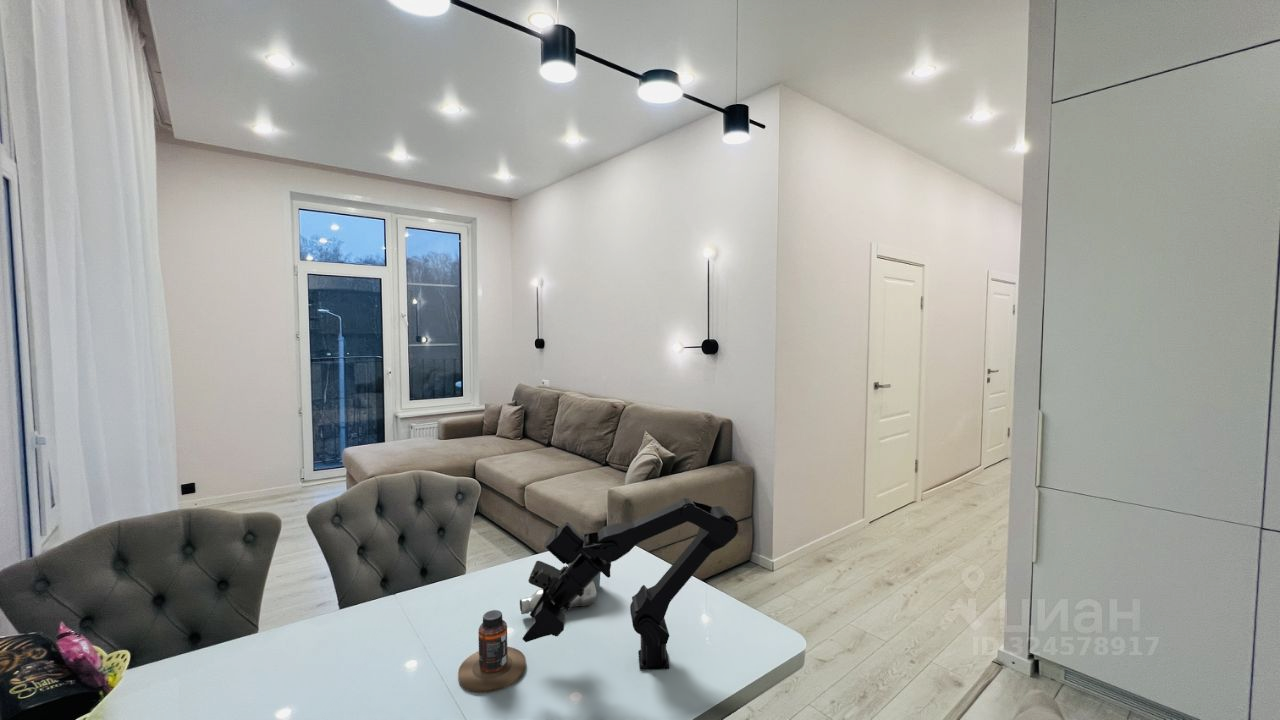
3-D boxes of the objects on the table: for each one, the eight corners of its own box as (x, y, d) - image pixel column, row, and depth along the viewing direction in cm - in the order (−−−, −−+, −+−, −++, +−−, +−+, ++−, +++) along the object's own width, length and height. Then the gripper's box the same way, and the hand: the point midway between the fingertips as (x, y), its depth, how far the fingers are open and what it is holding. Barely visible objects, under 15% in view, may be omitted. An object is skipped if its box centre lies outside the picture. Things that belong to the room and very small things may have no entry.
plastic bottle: (589, 582, 144) (517, 597, 136) (595, 574, 139) (520, 589, 131) (595, 606, 140) (521, 623, 132) (600, 598, 135) (524, 616, 127)
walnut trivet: (519, 691, 104) (519, 686, 104) (449, 694, 104) (449, 689, 104) (530, 649, 118) (530, 644, 118) (469, 651, 118) (468, 647, 118)
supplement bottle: (512, 666, 111) (511, 615, 110) (486, 678, 107) (485, 625, 106) (500, 653, 115) (499, 604, 115) (474, 664, 111) (473, 613, 111)
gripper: (556, 534, 120) (509, 582, 120) (545, 570, 101) (490, 627, 101) (590, 566, 121) (544, 613, 121) (586, 608, 102) (531, 664, 102)
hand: (527, 627), depth 111 cm, fingers open, 9 cm apart
